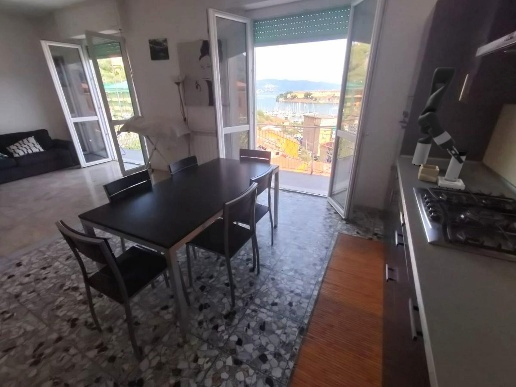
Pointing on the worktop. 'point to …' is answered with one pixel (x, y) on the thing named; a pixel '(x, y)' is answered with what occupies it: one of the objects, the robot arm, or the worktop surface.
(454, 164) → the travel mug
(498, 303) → the worktop surface
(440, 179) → the tray
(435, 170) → the holder
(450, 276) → the worktop surface
